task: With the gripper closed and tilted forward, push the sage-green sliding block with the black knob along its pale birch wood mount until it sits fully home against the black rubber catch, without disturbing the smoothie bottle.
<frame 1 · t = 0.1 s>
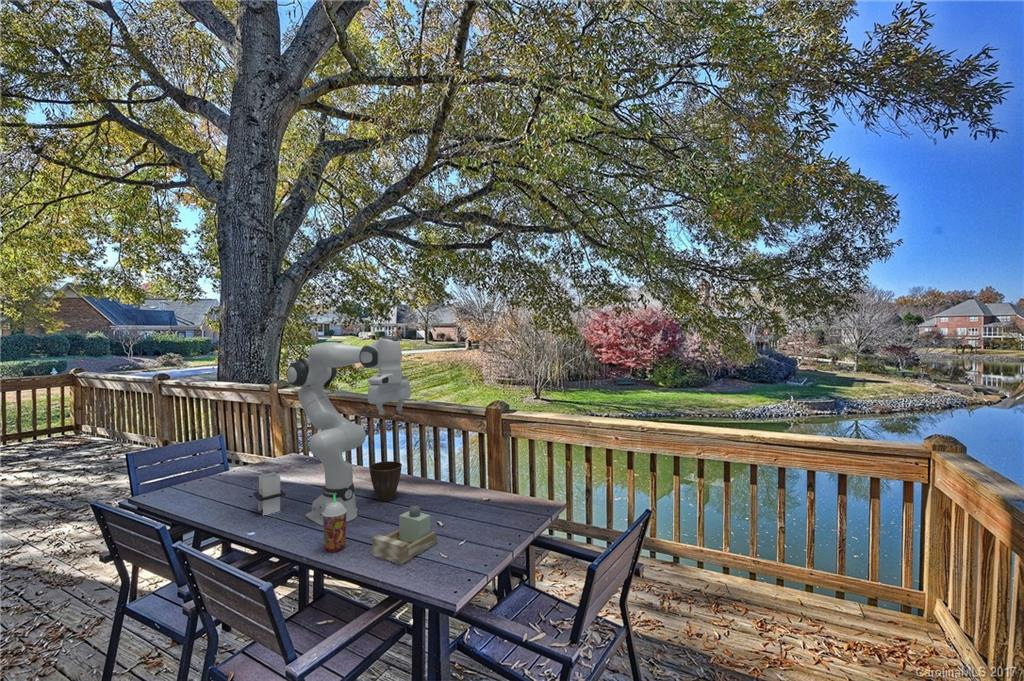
hand: (390, 412, 184), 48 cm above the table, tool pointing down, fingers open, 8 cm apart
smoothie: (335, 549, 172), on the table
slider: (414, 523, 176), point 8 cm above the table, slide at 0.0 cm
mount: (405, 549, 172), on the table
plant pot: (386, 499, 223), on the table
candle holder: (269, 512, 208), on the table
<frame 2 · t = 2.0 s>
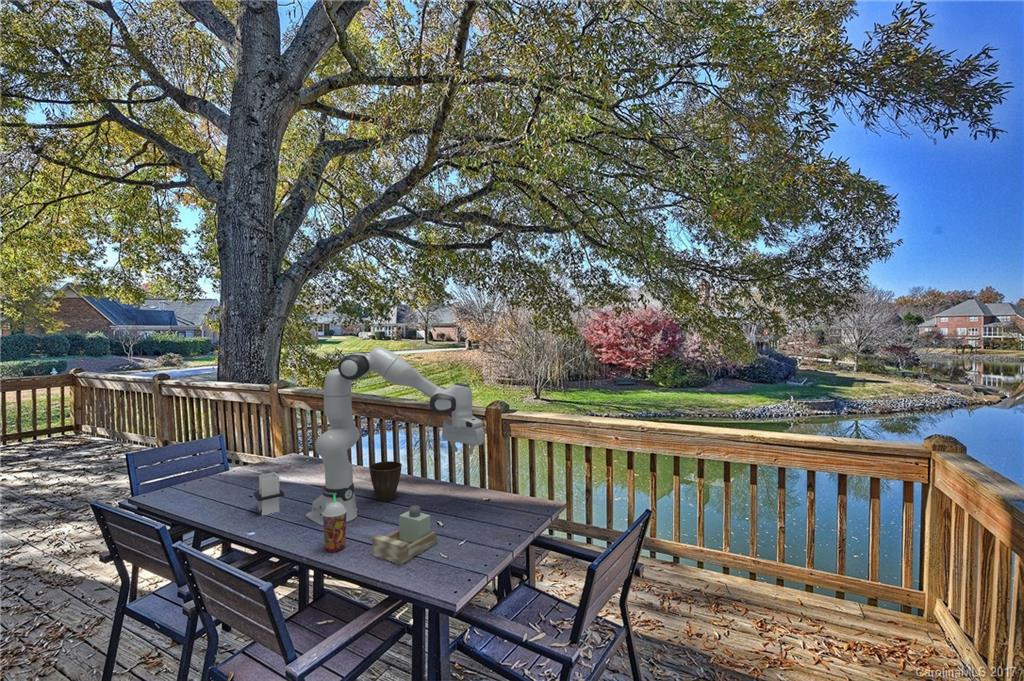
hand: (462, 452, 201), 27 cm above the table, tool pointing down, fingers open, 7 cm apart
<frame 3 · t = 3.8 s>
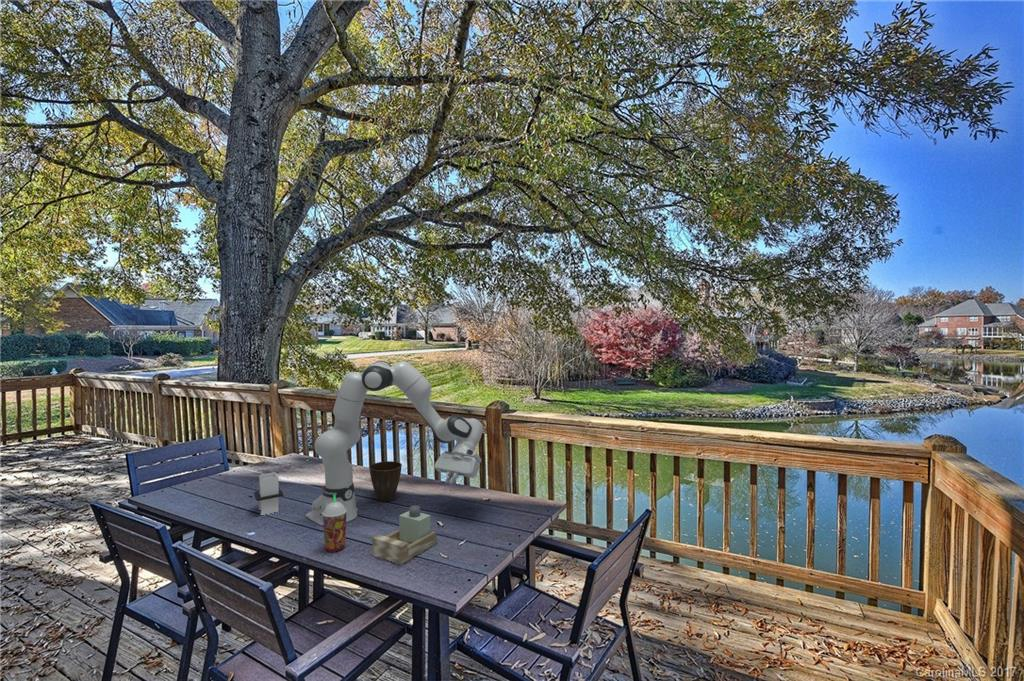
hand: (448, 482, 193), 17 cm above the table, tool tilted 45°, fingers closed
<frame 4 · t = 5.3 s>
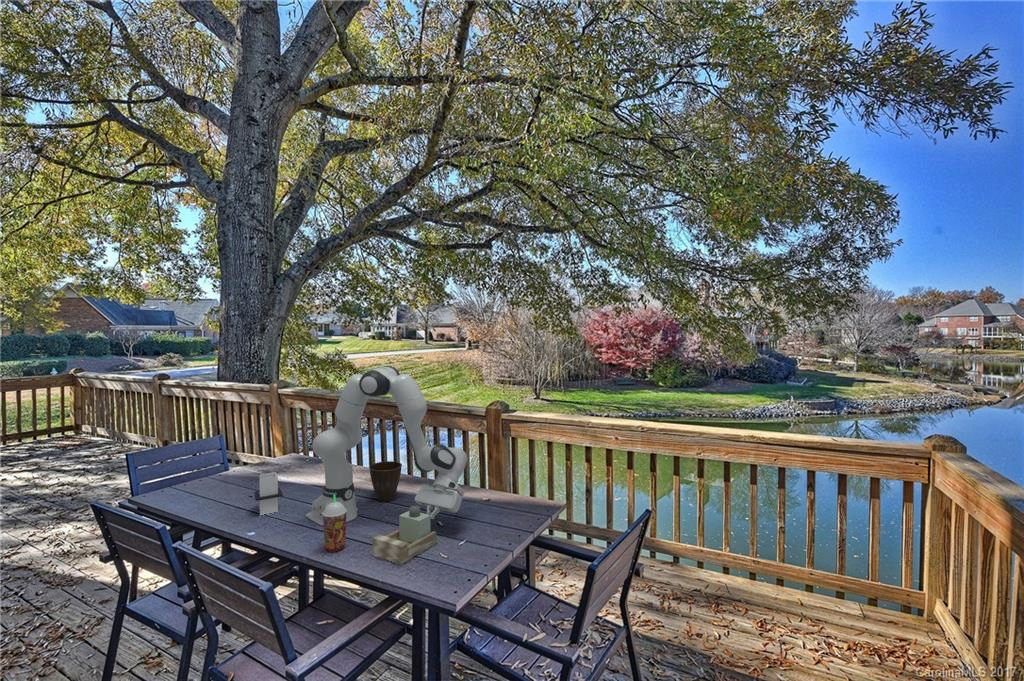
hand: (429, 518, 183), 7 cm above the table, tool tilted 45°, fingers closed
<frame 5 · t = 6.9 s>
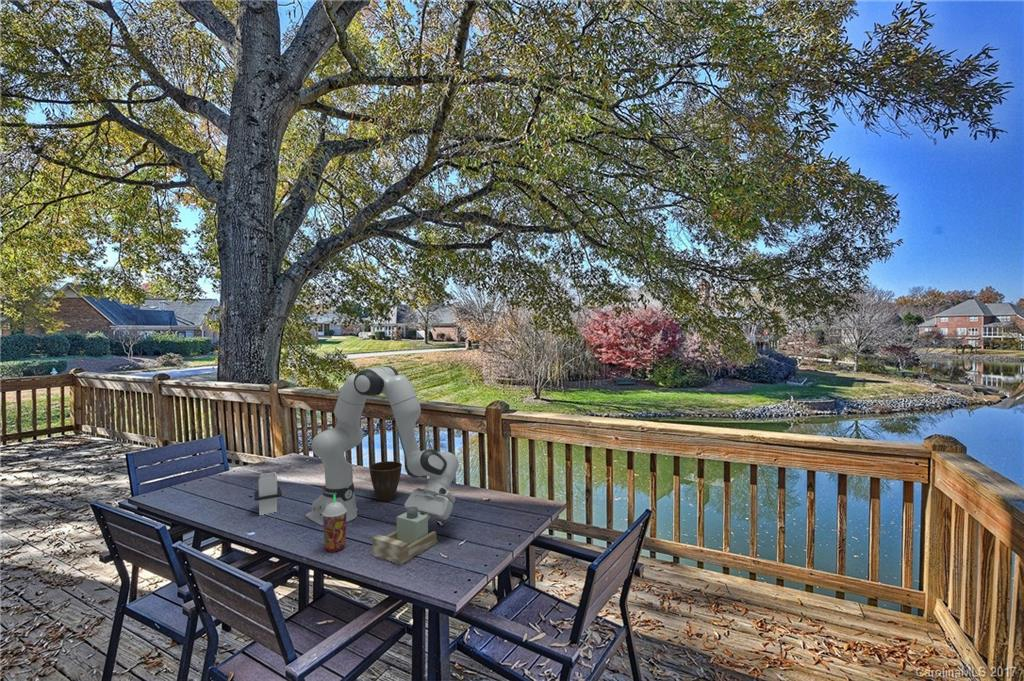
hand: (418, 525, 178), 6 cm above the table, tool tilted 45°, fingers closed, pressing on slider
slider: (412, 524, 174), point 8 cm above the table, slide at 1.4 cm, touching gripper
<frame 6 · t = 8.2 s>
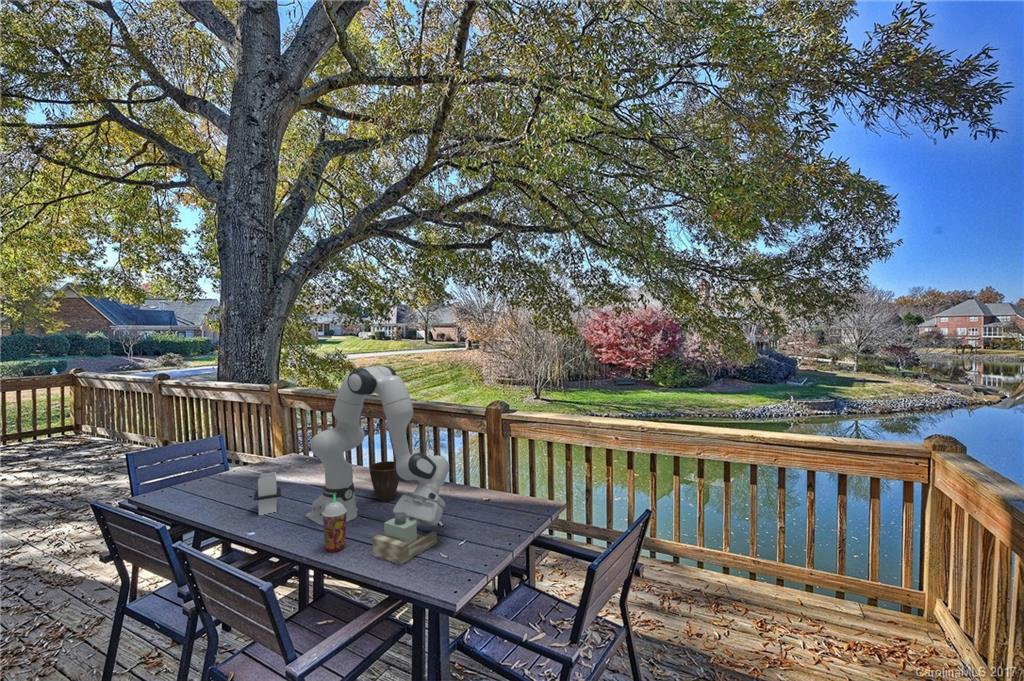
hand: (407, 531, 172), 6 cm above the table, tool tilted 45°, fingers closed, pressing on slider
slider: (400, 530, 169), point 8 cm above the table, slide at 7.6 cm, touching gripper
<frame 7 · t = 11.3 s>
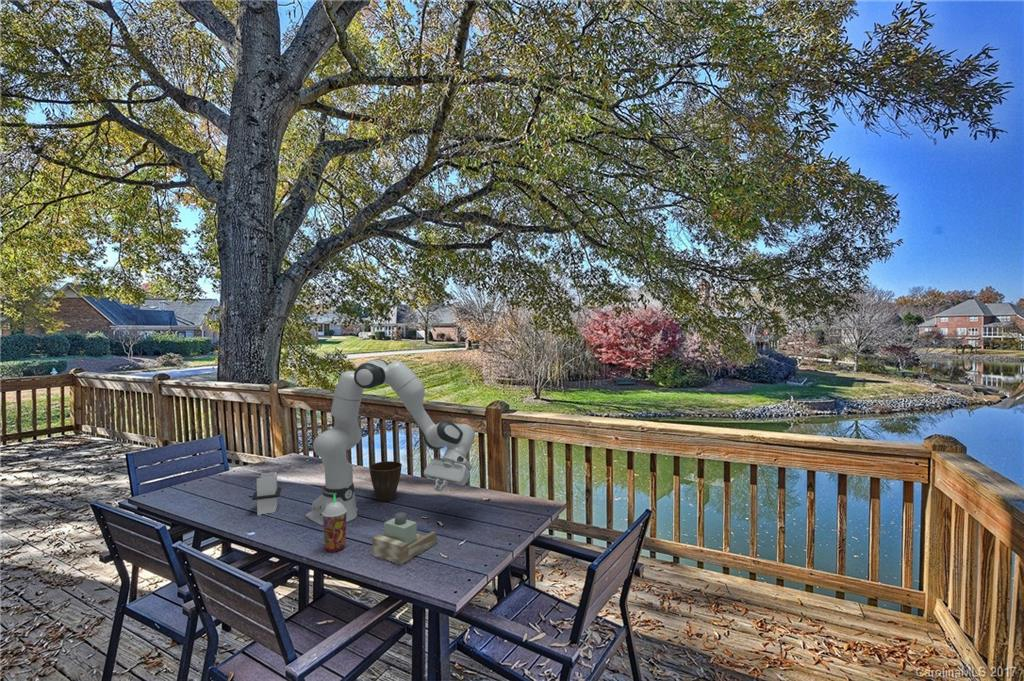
hand: (437, 490, 187), 16 cm above the table, tool tilted 45°, fingers closed
slider: (400, 530, 169), point 8 cm above the table, slide at 7.5 cm
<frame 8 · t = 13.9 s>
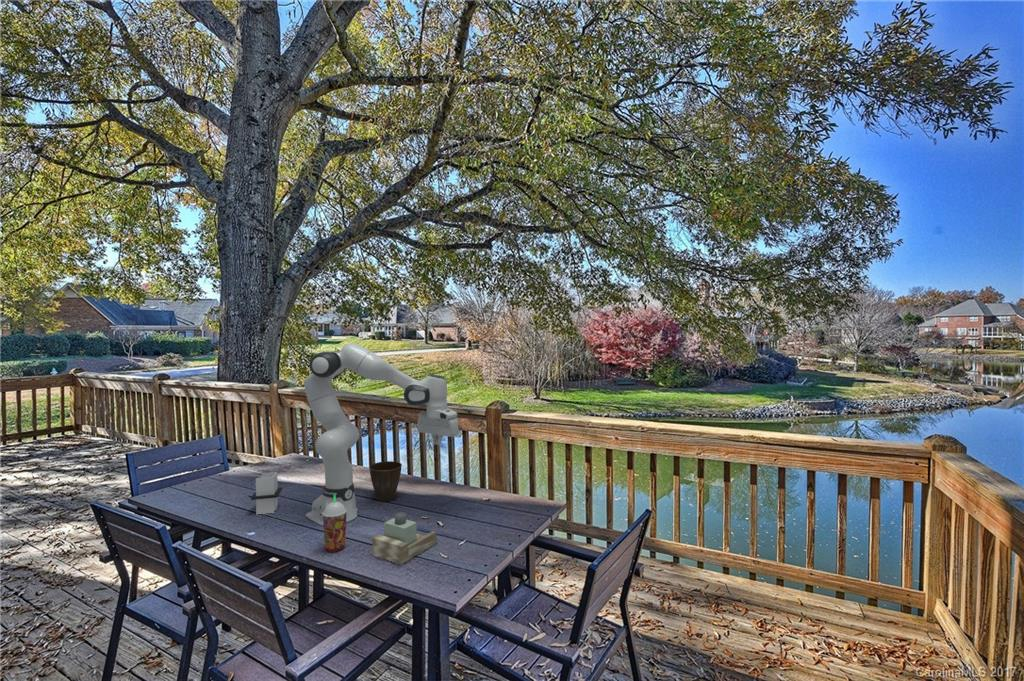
hand: (437, 444, 201), 31 cm above the table, tool pointing down, fingers closed
at the end: slider slide at 7.5 cm; smoothie moved 0.2 cm from its start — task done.
